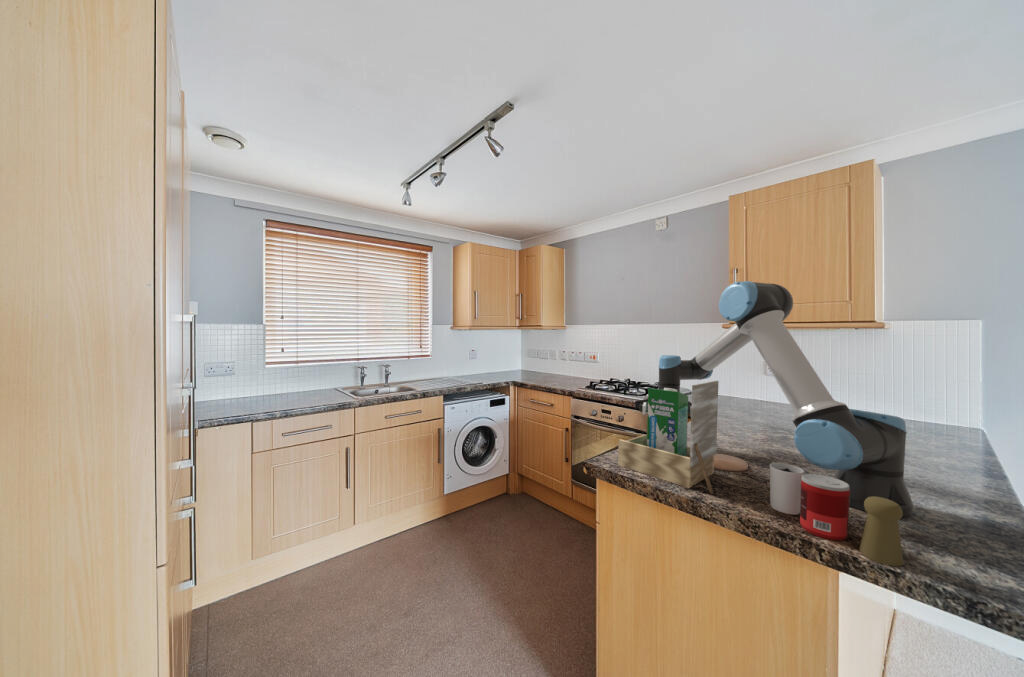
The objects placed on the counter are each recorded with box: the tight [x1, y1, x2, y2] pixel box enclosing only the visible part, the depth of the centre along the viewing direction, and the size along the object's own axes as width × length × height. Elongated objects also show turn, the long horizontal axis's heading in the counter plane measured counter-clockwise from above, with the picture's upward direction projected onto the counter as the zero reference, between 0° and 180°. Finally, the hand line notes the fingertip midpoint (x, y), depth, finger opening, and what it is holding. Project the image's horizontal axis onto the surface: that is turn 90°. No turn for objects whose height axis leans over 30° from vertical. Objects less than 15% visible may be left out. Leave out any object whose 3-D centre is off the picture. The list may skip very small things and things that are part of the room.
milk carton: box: [646, 387, 689, 457], centre depth 114 cm, size 9×9×25 cm
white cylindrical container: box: [769, 462, 805, 515], centre depth 89 cm, size 7×7×10 cm
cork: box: [858, 496, 905, 567], centre depth 70 cm, size 6×6×11 cm
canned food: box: [799, 473, 850, 541], centre depth 79 cm, size 8×8×11 cm
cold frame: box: [617, 380, 720, 495], centre depth 111 cm, size 28×17×28 cm, turn 41°
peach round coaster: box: [714, 452, 749, 472], centre depth 120 cm, size 13×13×1 cm
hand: (667, 412), depth 111 cm, fingers open, 13 cm apart
